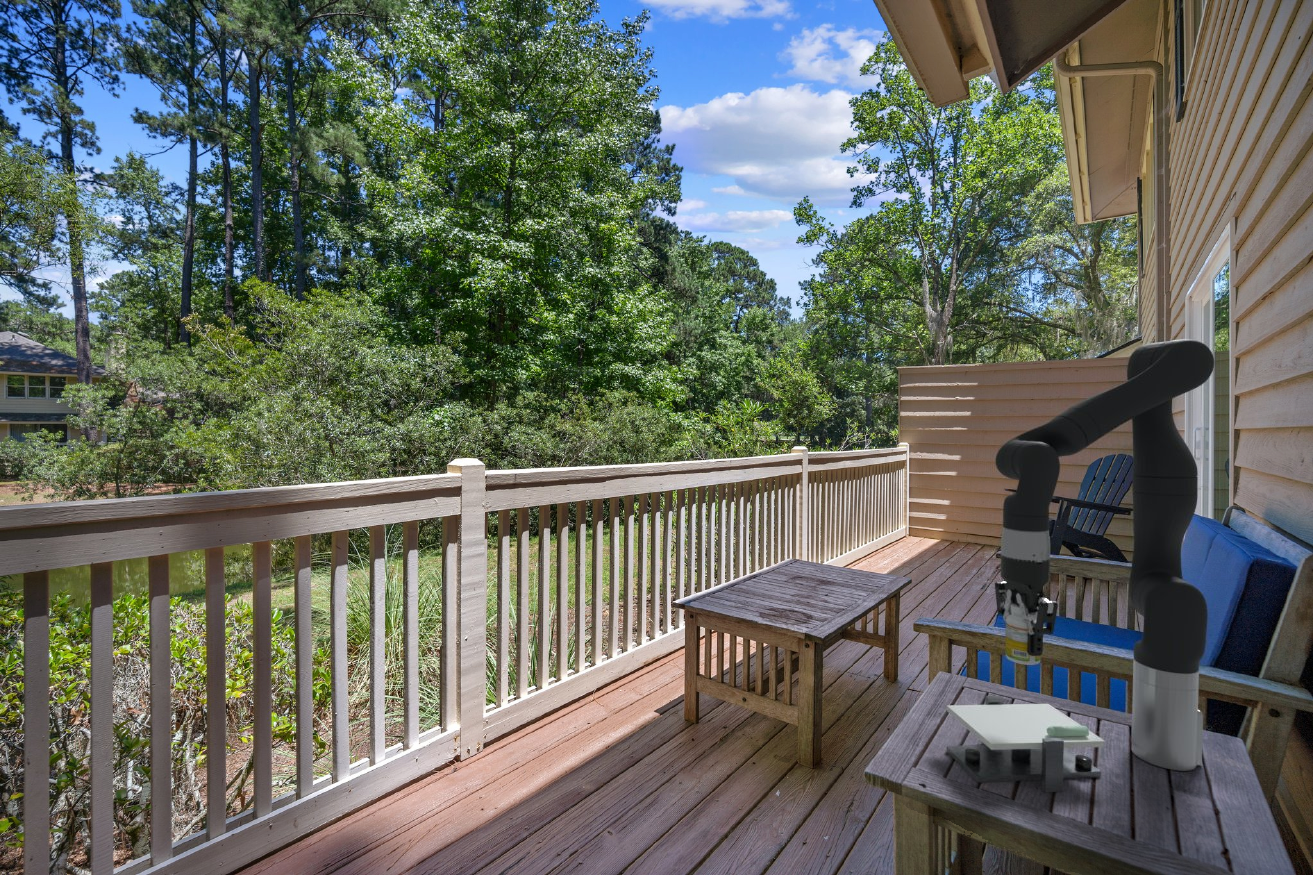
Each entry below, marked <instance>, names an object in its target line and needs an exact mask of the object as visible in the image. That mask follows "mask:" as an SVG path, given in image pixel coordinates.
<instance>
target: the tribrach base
mask: <svg viewBox="0 0 1313 875" xmlns="http://www.w3.org/2000/svg"><path fill="white" fill-rule="evenodd" d="M984 701H985V702H984V703H985V704H984V705H1004V704H1005V702H1004V701H1005V698H1004V697H1003V696H1002V695H985V699H984ZM946 753H948V755H949V756H950V757H952V759H953V760H955V761H956V762H957V764H958V765H959V766H961V767H962V768H963V769H964V771H966V772H967V774H969V776H971V778H972V779H973V780H975V781H976V783H995V782H996V783H998V782H1019V781H1038V780H1039V781H1041V786H1040V787H1041V790H1042V791H1043V792H1044V793H1057V792H1059V793H1060V792H1064V780H1065V779H1066V780H1067V779H1068V780H1069V779H1088V778H1101V777H1102V771H1101V770H1100V769H1099V768H1097V767H1096V766H1094V765H1093V759H1092V758H1090V757H1089V756H1086V755H1083V754H1078V753H1077V752H1075V751H1074V750H1072V748H1064V741H1063V740H1062V739H1061V738H1042V749H1001V750H991V749H990V748H989V747H988V746H986V745H985V744H968V745H965V744H964V745H947V746H946Z"/></svg>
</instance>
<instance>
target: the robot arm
mask: <svg viewBox="0 0 1313 875" xmlns="http://www.w3.org/2000/svg"><path fill="white" fill-rule="evenodd" d="M1214 368H1215V358H1214V354H1213V352H1212V350H1211V349H1210V348H1209V346H1207V344H1205V343H1204V342H1201V341H1199V340H1197V339H1188V338H1184V339H1183V338H1182V339H1181V338H1180V339H1172V340H1166V341H1159V342H1152V343H1146V344H1142V345H1141V346H1138V347H1137V348H1136V349H1135V350H1134V351H1133V352H1132V353H1131V355H1130V356H1129V359H1128V361H1127V367H1126V380H1127V381H1124V382H1122V383H1119V384H1118V385H1116V386H1113V387H1111V388H1109V389H1107V390H1104V391H1101V392H1098V393H1096V394H1095V395H1092V396H1090V397H1087V398H1086V399H1083V400H1081V401H1079V402H1077V403H1076V404H1074V405H1072V406H1070V407H1068V408H1067V409H1066V410H1064V411H1063V412H1061V413H1060V414H1058V415H1056V416H1055V417H1054V418H1052V419H1051V420H1050V421H1048V422H1046V423H1044V424H1042V425H1040V426H1037V427H1035V428H1032V429H1030V430H1027V431H1025V432H1023V433H1020V434H1018V435H1017V436H1015V437H1013V438H1011V439H1009V440H1008V441H1007V442H1005V443H1004V444H1003V445H1001V447H1000V448H999V449H998V450H997V453H996V455H995V456H996V457H995V460H994V461H995V467H996V469H997V470H998V472H999V473H1000V474H1001V475H1003V477H1006V478H1009V479H1012V480H1015V481H1018V483H1017V487H1016V491H1015V493H1014V494H1009V495H1008V496H1006V497H1005V498H1004V501H1003V505H1002V508H1003V510H1002V511H1003V512H1002V533H1001V540H1000V577H1001V579H1002V580H1004V581H996V582H994V592H995V600H996V601H995V602H996V610H997V614H998V615H999V616H1002V618H1003V621H1004V622H1005V623H1006V618H1007V616H1009V615H1011V614H1012V613H1011V604H1012V603H1013V604H1016V605H1018V606H1020V609H1021V614H1022V618H1023V620H1025V621H1026V624H1027V628H1028V632H1029V633H1028V645H1027V653H1028V654H1029V655H1031V656H1042V655H1043V653H1044V652H1043V651H1044V643H1043V642H1044V636H1045V635H1053V634H1054V631H1055V625H1056V618H1057V613H1058V606H1059V604H1058V602H1057V601H1056V600H1049V599H1048V598H1046V594H1045V591H1044V590H1045V589H1044V587H1045V586H1046V585H1047V584H1049V583H1050V581H1051V578H1050V576H1051V539H1050V531H1049V530H1050V505H1051V502H1052V499H1053V497H1054V493H1055V490H1056V487H1057V483H1058V481H1059V478H1060V472H1061V464H1060V458H1062V457H1068V456H1073V455H1075V454H1078V453H1080V452H1082V451H1083V450H1084V449H1086V448H1087V447H1089V446H1090V445H1092V444H1094V443H1095V442H1096V441H1098V440H1100V439H1102V438H1103V437H1104V436H1106V435H1107V434H1109V433H1110V432H1112V431H1114V430H1115V429H1116V428H1118V427H1120V426H1122V425H1124V424H1125V423H1127V422H1128V421H1132V422H1131V425H1132V426H1131V427H1132V456H1133V459H1132V460H1133V461H1132V462H1133V463H1132V474H1131V475H1132V476H1131V477H1132V479H1131V480H1132V484H1131V485H1132V486H1131V487H1132V489H1131V490H1132V523H1133V525H1132V526H1133V551H1132V560H1131V568H1130V574H1129V581H1128V598H1129V601H1130V603H1131V606H1132V607H1133V609H1134V610H1135V611H1136V612H1137V613H1138V614H1139V615H1141V616H1142V617H1143V625H1142V626H1143V630H1142V638H1141V639H1140V640H1138V641H1137V642H1135V643H1134V646H1133V658H1132V660H1133V662H1132V663H1133V666H1132V667H1133V668H1132V675H1133V677H1132V708H1131V709H1132V713H1131V751H1132V753H1133V754H1134V755H1135V756H1137V758H1139V759H1141V760H1143V761H1144V762H1147V763H1149V764H1151V765H1153V766H1157V767H1160V768H1163V769H1168V770H1173V771H1180V772H1183V771H1185V772H1186V771H1187V772H1188V771H1193V770H1195V769H1196V768H1197V766H1202V764H1203V762H1202V761H1203V731H1204V730H1203V728H1204V727H1203V726H1204V713H1203V712H1202V710H1200V709H1199V684H1200V683H1199V681H1200V679H1199V678H1200V676H1199V675H1200V671H1199V670H1200V663H1201V660H1202V659H1203V657H1204V655H1205V653H1206V652H1205V651H1206V645H1207V644H1206V643H1207V633H1208V632H1207V631H1208V619H1209V618H1208V614H1209V612H1208V604H1207V600H1206V597H1205V596H1204V594H1203V593H1202V591H1200V589H1198V588H1197V587H1196V586H1195V585H1193V584H1192V583H1190V582H1188V581H1185V580H1184V579H1183V578H1184V577H1183V572H1182V571H1183V570H1182V545H1183V541H1184V538H1185V536H1186V533H1187V531H1188V529H1189V526H1190V525H1191V522H1192V520H1193V517H1194V514H1195V512H1196V509H1197V504H1198V498H1199V497H1198V491H1199V490H1198V486H1199V484H1198V480H1199V479H1198V476H1199V475H1198V474H1199V473H1198V472H1199V471H1198V466H1197V462H1196V460H1195V457H1194V456H1193V454H1192V452H1191V450H1190V448H1189V446H1188V445H1187V443H1186V442H1185V440H1184V438H1183V437H1182V435H1181V432H1179V429H1178V428H1177V426H1176V423H1175V419H1174V415H1173V404H1172V403H1173V402H1172V401H1173V399H1174V398H1176V397H1177V398H1178V397H1180V396H1182V395H1184V394H1186V393H1188V392H1190V391H1193V390H1195V389H1197V388H1199V387H1200V386H1202V385H1203V384H1204V383H1206V382H1207V380H1209V378H1210V377H1211V376H1212V373H1213V371H1214ZM1003 603H1004V604H1003ZM1036 612H1037V615H1030V614H1029V613H1036ZM1033 620H1036V627H1034V624H1033ZM1045 623H1046V625H1045Z"/></svg>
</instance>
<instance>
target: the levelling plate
mask: <svg viewBox="0 0 1313 875" xmlns="http://www.w3.org/2000/svg"><path fill="white" fill-rule="evenodd" d="M946 712H947V713H949V714H950V715H951V716H952V717H953V718H954V719H955V720H957V721H958V722H959V723H960V725H962V726H963V727H965V728H966V729H967V730H968V731H969V732H970V733H971V734H972V735H974V737H976V738H977V739H978V740H979V741H980V742H982V743H983V745H986V746H988V747H989V748H990V749H991V750H1001V749H1042V738H1061V739H1062V740H1063V741H1064V748H1069V749H1072V748H1073V749H1078V748H1081V749H1082V748H1083V749H1084V748H1106V740H1104V739H1103V738H1102V737H1100V736H1098V735H1097V734H1095V733H1094V732H1092V731H1091V730H1090V729H1089V728H1088V727H1087V726H1086V725H1081V724H1080V723H1078V722H1077V721H1075V719H1074V720H1073V719H1072V718H1071V717H1069V716H1068V715H1066V714H1065V713H1063V712H1062V711H1060V710H1058V709H1056V707H1053V706H1052V705H1050V704H1049V703H1017V704H1016V703H1015V704H1014V703H1013V704H1012V703H1011V704H1009V703H1008V704H1007V703H1006V704H1005V703H1004V705H985V704H966V705H965V704H961V705H960V704H959V705H958V704H957V705H956V704H955V705H946Z"/></svg>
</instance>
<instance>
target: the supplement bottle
mask: <svg viewBox="0 0 1313 875" xmlns="http://www.w3.org/2000/svg"><path fill="white" fill-rule="evenodd" d="M1011 613H1012V614H1011V615H1009V616H1007V618H1006V622H1005V657H1006V659H1008V660H1009V661H1010V662H1014V663H1017V664H1021V665H1027V666H1034V665H1035V666H1036V665H1038V664H1040V662H1041V658H1042V657H1041V656H1042V655H1041V656H1031V655H1029V654H1028V653H1027V645H1028V633H1029V632H1028V628H1027V624H1026V621H1025V620H1023V618H1022V614H1021V609H1020V606H1018V605H1016V604H1013V603H1012V604H1011ZM1029 614H1030V615H1037V612H1036V613H1029ZM1033 624H1034V627H1036V620H1033Z"/></svg>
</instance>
